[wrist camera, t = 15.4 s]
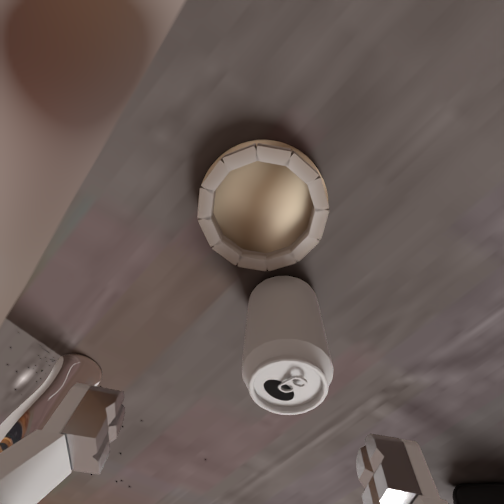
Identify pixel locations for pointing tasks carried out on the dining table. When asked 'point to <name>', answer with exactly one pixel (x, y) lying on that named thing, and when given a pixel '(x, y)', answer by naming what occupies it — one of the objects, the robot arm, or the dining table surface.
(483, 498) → the carrying case or bag
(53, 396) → the beer glass
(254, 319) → the can
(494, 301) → the dining table surface
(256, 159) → the beige round shallow dish
